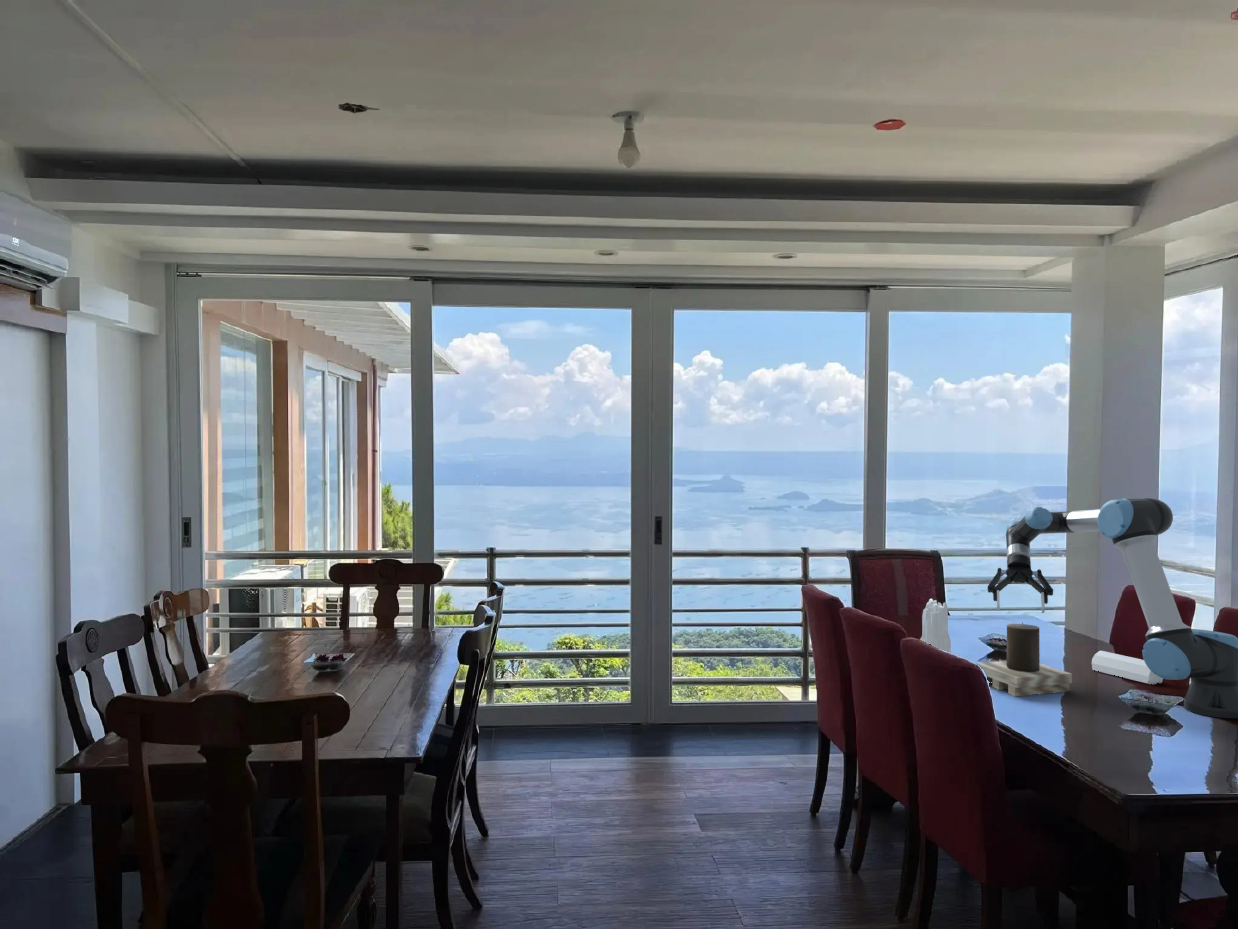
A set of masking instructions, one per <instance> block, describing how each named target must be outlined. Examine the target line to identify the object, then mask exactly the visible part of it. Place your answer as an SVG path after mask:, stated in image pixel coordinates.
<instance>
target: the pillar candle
mask: <svg viewBox="0 0 1238 929" xmlns="http://www.w3.org/2000/svg"><path fill="white" fill-rule="evenodd" d="M1040 656H1041V654H1040V627H1039V626H1037V625H1032V624H1027V623H1026V624H1024V622H1023V621H1022V622H1021V623H1008V624H1006V661H1007V663H1006V665H1007V667H1008V668H1010V669H1012V670H1018V671H1025V672H1034V671H1039V670H1040V664H1041V662H1040V660H1041V659H1040Z"/></svg>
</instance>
